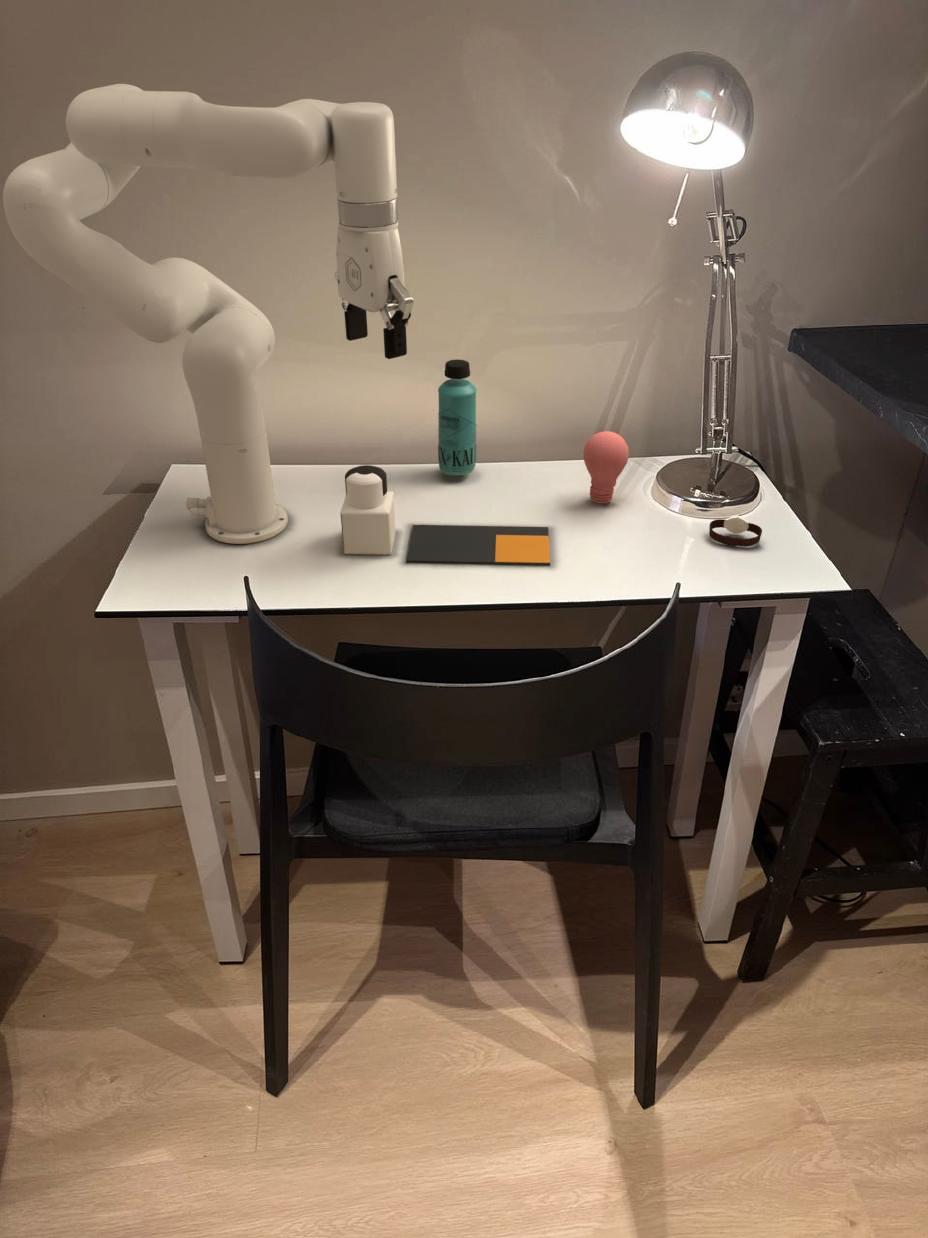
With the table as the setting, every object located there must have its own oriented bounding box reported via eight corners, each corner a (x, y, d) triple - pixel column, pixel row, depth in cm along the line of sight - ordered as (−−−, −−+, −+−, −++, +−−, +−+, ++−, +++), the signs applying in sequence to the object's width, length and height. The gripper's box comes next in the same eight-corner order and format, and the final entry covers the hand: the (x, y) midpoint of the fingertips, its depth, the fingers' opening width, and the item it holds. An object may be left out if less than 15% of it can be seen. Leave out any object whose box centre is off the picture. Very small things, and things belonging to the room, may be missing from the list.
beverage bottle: (441, 466, 167) (439, 354, 156) (479, 468, 166) (479, 355, 155) (435, 483, 162) (432, 367, 150) (474, 485, 161) (474, 369, 150)
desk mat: (406, 562, 140) (406, 559, 139) (413, 526, 149) (412, 524, 148) (550, 565, 139) (550, 562, 139) (548, 529, 148) (548, 526, 148)
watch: (760, 536, 146) (764, 515, 144) (758, 551, 142) (763, 529, 140) (709, 529, 148) (712, 508, 145) (706, 544, 144) (709, 522, 142)
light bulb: (622, 514, 152) (629, 443, 145) (577, 510, 153) (582, 440, 146) (625, 494, 158) (632, 425, 151) (582, 490, 159) (587, 422, 152)
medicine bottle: (349, 531, 148) (344, 460, 141) (395, 532, 147) (392, 460, 141) (343, 555, 142) (337, 481, 135) (391, 555, 141) (387, 481, 135)
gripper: (308, 206, 125) (320, 337, 134) (380, 229, 113) (387, 370, 123) (357, 199, 128) (365, 326, 138) (432, 220, 117) (435, 358, 126)
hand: (376, 347), depth 130 cm, fingers open, 9 cm apart
